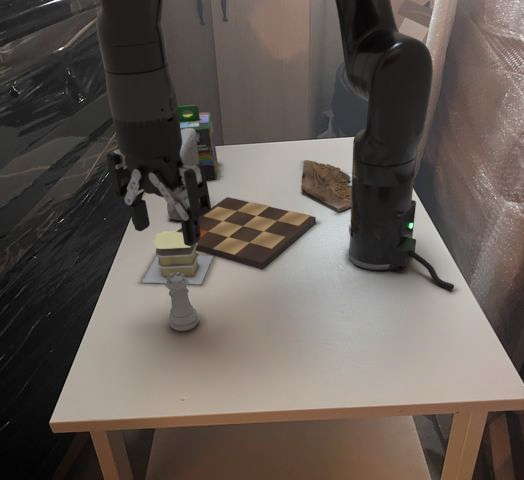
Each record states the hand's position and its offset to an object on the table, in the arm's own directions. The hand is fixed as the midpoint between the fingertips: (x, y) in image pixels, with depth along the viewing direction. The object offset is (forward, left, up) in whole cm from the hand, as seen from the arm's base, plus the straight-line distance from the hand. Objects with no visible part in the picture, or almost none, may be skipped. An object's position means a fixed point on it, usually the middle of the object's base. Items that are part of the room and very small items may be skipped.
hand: (167, 235), depth 77 cm
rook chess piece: (0, 0, -15) cm, 15 cm away
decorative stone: (+23, -30, -15) cm, 41 cm away
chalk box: (+33, -45, -15) cm, 57 cm away
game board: (+8, -27, -14) cm, 32 cm away
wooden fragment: (+4, -51, -14) cm, 53 cm away
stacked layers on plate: (+10, -12, -15) cm, 21 cm away
